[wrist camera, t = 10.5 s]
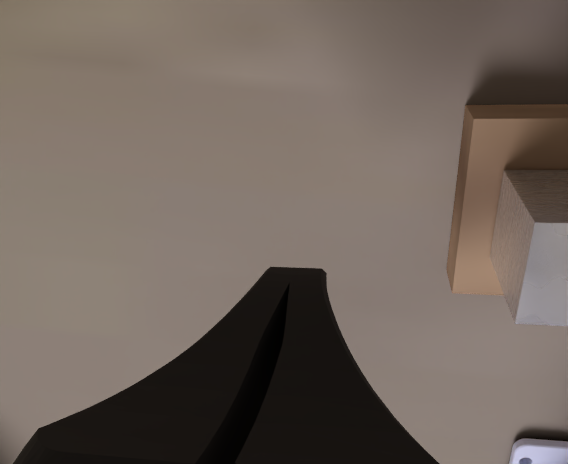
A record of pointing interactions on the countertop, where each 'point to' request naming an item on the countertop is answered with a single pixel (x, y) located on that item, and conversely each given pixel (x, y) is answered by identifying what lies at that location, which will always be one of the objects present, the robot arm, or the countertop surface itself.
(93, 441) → the robot arm
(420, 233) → the countertop surface
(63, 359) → the countertop surface
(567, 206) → the block
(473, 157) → the press bed
